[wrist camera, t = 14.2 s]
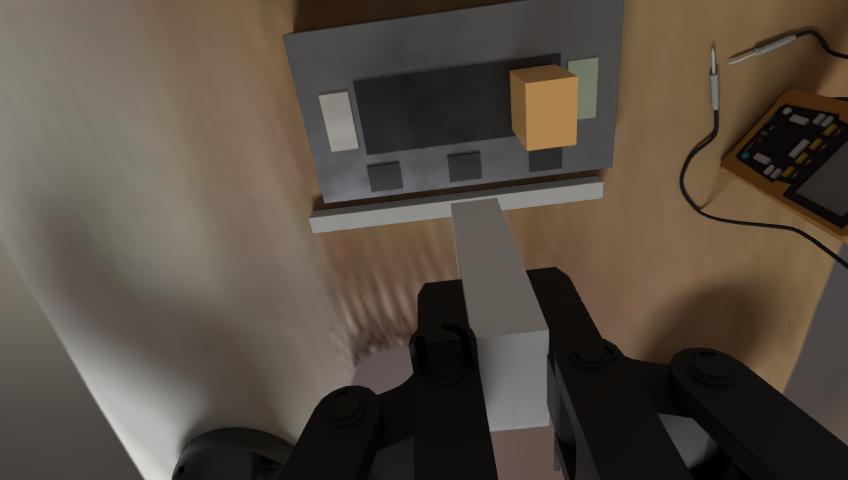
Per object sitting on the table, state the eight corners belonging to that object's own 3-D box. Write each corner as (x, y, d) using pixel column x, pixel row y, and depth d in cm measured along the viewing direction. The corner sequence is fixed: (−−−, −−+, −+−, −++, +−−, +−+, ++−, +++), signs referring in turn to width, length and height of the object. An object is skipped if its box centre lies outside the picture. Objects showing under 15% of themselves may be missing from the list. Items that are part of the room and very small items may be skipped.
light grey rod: (316, 225, 40) (313, 233, 39) (312, 211, 39) (309, 218, 38) (596, 191, 39) (602, 197, 38) (597, 175, 38) (603, 181, 37)
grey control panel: (330, 188, 38) (324, 204, 35) (292, 31, 33) (281, 35, 30) (598, 154, 37) (613, 168, 34) (607, -14, 32) (626, -14, 29)
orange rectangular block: (512, 129, 33) (526, 150, 28) (509, 70, 31) (525, 83, 26) (554, 123, 32) (576, 144, 28) (555, 64, 31) (578, 76, 26)
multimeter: (760, -17, 32) (1190, -28, 14) (852, 60, 34) (1316, 134, 17) (616, 161, 38) (793, 310, 20) (704, 216, 40) (929, 392, 22)
